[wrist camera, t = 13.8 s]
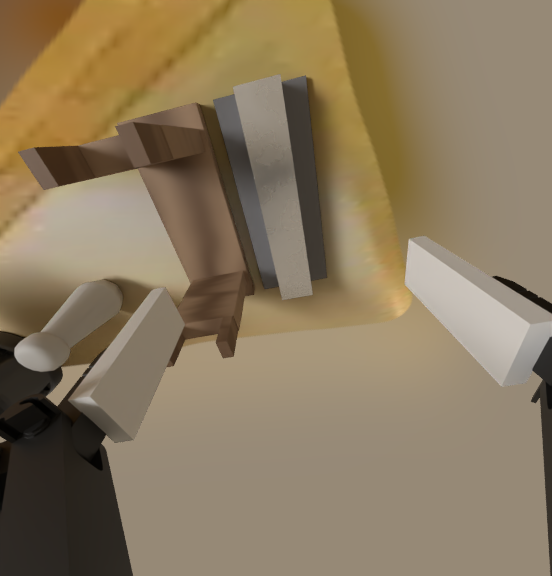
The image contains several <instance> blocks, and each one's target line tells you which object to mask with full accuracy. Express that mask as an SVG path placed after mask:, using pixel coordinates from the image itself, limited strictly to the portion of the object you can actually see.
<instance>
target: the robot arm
mask: <svg viewBox="0 0 552 576" xmlns="http://www.w3.org/2000/svg"><path fill="white" fill-rule="evenodd" d="M405 285H406V286H407V287H408V288H409V289H410V290H411V292H412V293H413V294H414V295H415V296H416V297H417V298H418V299H419V300H420V301H421V302H422V303H423V304H424V305H425V306H426V307H427V308H428V309H429V311H430V312H431V313H432V314H433V315H434V316H435V317H436V318H437V319H438V320H439V321H440V322H441V323H442V324H443V325H444V326H445V327H446V328H447V330H448V331H449V332H450V333H451V334H452V335H453V336H454V337H455V338H456V339H457V340H458V341H459V342H460V343H461V344H462V345H463V346H464V347H465V348H466V350H467V351H468V352H469V353H470V354H471V355H472V356H473V357H474V358H475V359H476V360H477V361H478V362H479V363H480V364H481V365H482V366H483V368H484V369H485V370H486V371H487V372H488V373H489V374H490V375H491V376H492V377H493V378H494V379H495V380H496V381H497V382H498V383H499V384H500V385H501V387H502V386H509V385H516V384H523V383H526V382H527V380H528V378H529V376H530V375H531V373H532V371H534V372H535V373H536V374H537V375H539V376H540V377H541V378H542V379H543V380H542V382H541V384H540V385H539V387H538V389H537V390H536V392H535V394H534V395H533V397H532V400H531V402H534V403H536V402H537V400H538V399H539V398H540V404H541V419H542V438H543V454H544V472H545V488H546V506H547V523H548V539H549V557H550V574H551V576H552V304H551V303H550V302H548V301H546V300H545V299H543V298H541V297H539V298H538V296H537V295H536V294H534V293H532V292H530V291H527V290H526V289H525V288H524V287H522V286H520V285H518V284H517V283H515V282H513V281H510V280H507V279H504V278H501V277H498V276H493V277H491V276H489V275H488V274H486V273H484V272H483V271H481V270H479V269H478V268H476V267H475V266H473V265H471V264H470V263H468V262H466V261H465V260H463V259H462V258H460V257H458V256H457V255H455V254H453V253H452V252H450V251H448V250H447V249H445V248H444V247H442V246H440V245H439V244H437V243H435V242H434V241H432V240H431V239H429V238H427V237H426V236H420V237H415V238H410V239H409V244H408V254H407V265H406V275H405ZM184 326H185V323H184V321H183V320H182V318H181V316H180V314H179V312H178V310H177V308H176V306H175V304H174V303H173V301H172V299H171V297H170V295H169V293H168V291H167V289H166V287H163V288H158V289H153V290H152V291H151V292H150V293H149V294H148V296H147V297H146V298H145V300H144V301H143V302H142V304H141V305H140V306H139V308H138V309H137V310H136V311H135V313H134V314H133V315H132V317H131V318H130V319H129V321H128V322H127V323H126V325H125V326H124V327H123V328H122V330H121V331H120V332H119V334H118V335H117V336H116V338H115V339H114V340H113V342H112V343H111V344H110V345H109V347H107V348H106V349H105V350H104V351H102V352H101V353H100V354H99V355H98V356H97V357H96V358H95V359H94V361H93V362H92V363H91V364H90V366H89V368H87V370H86V371H85V372H84V373H83V376H82V377H80V378H79V380H78V381H77V383H76V384H75V385H74V386H73V387H72V389H71V390H70V391H69V392H68V394H67V395H66V396H65V398H64V399H63V400H62V401H61V403H60V404H59V405H58V406H56V405H54V404H53V403H52V402H51V401H50V400H49V399H47V398H46V396H47V395H48V394H49V393H51V392H52V391H53V389H54V388H55V387H56V386H57V385H58V384H59V382H60V381H61V379H62V376H63V374H62V369H61V367H58V368H57V369H55V370H53V371H44V372H40V371H34V370H31V369H29V368H26V367H24V366H23V365H22V364H20V363H19V362H18V361H17V359H16V358H15V354H14V351H15V347H16V346H17V345H18V343H19V342H21V341H22V340H23V339H24V338H21V337H19V336H16V335H12V334H8V333H4V332H0V436H1V437H2V438H4V439H5V440H7V441H5V442H2V443H0V576H133V573H132V569H131V564H130V559H129V555H128V550H127V545H126V541H125V536H124V531H123V527H122V522H121V518H120V513H119V508H118V504H117V499H116V494H115V489H114V485H113V480H112V475H111V471H110V466H109V462H108V457H107V452H106V449H105V447H104V446H103V445H102V444H101V443H102V441H103V439H104V438H105V436H106V435H107V436H108V437H109V438H110V439H111V440H113V441H114V442H115V443H118V442H124V441H131V440H134V439H135V436H136V434H137V432H138V429H139V428H140V425H141V423H142V421H143V419H144V416H145V414H146V412H147V409H148V407H149V405H150V403H151V400H152V398H153V396H154V393H155V391H156V389H157V387H158V385H159V382H160V380H161V378H162V376H163V373H164V371H165V369H166V367H167V364H168V362H169V360H170V358H171V355H172V353H173V351H174V349H175V346H176V344H177V342H178V340H179V337H180V335H181V333H182V330H183V328H184Z"/></svg>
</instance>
